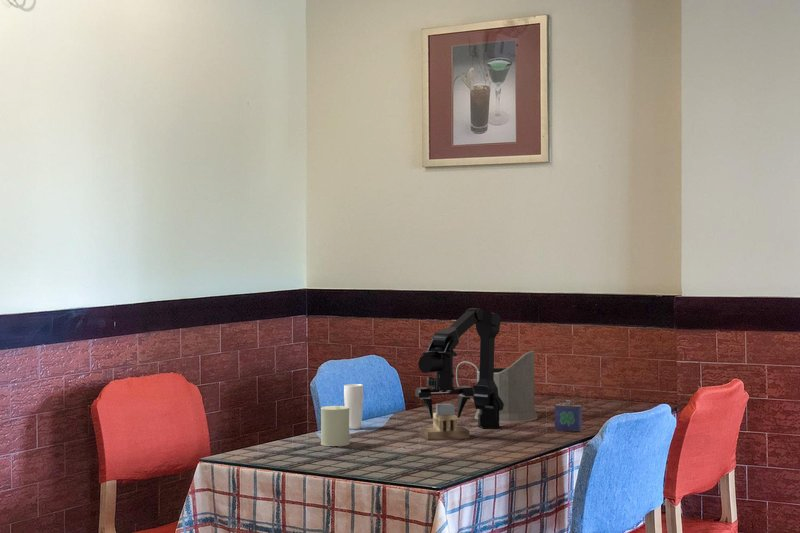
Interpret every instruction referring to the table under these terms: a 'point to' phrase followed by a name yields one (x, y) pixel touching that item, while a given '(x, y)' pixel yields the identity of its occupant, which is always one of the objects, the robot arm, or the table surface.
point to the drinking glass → (354, 404)
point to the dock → (445, 433)
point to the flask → (568, 417)
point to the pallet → (445, 422)
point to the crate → (445, 409)
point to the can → (335, 426)
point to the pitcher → (514, 389)
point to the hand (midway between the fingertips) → (444, 418)
